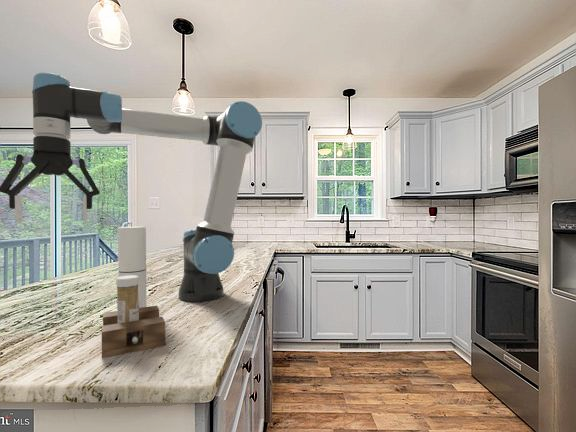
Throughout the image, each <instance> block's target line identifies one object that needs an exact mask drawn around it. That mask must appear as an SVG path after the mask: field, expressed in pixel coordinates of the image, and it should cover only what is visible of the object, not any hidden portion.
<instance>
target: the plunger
mask: <svg viewBox="0 0 576 432" xmlns="http://www.w3.org/2000/svg"><path fill="white" fill-rule="evenodd" d="M139 334H140V331H134V332H129V333H128V337H129V338H131V339H132V341H133V343H134V344H136V343H137V342H138V338H137V337H138V336H139Z"/></svg>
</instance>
